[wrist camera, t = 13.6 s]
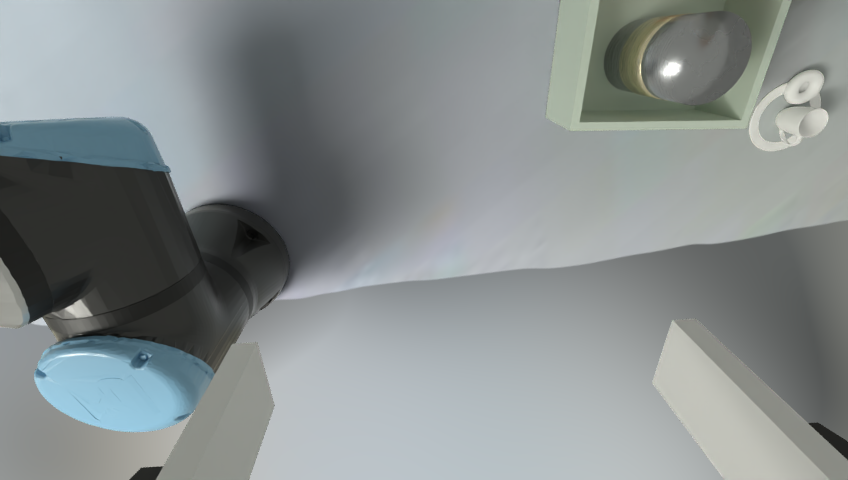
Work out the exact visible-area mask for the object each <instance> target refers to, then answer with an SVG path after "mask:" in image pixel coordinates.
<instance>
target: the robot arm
mask: <svg viewBox="0 0 848 480" xmlns="http://www.w3.org/2000/svg"><path fill="white" fill-rule="evenodd" d="M170 172H171V170H170V168H169V167H168V166H166V165H165V163H164V161H163V159H162V157H161V155H160V153H159V150H158V148H157V146H156V144H155V142H154V139H153V137H152V135H151V133H150V132H149V131H148V129H147V128H146V127H145V126H143V125H142V124H141V123H139V122H137V121H135V120H132V119H129V118H125V117H96V118H73V119H52V120H32V121H12V122H0V327H6V328H21V327H23V326H25V325H27V324H29V323H31V322H33V321H35V320H37V319H39V318H41V317H43V319H44V320H45V322H46V324H47V325H48V327H49V328H50V330H51V331H52V333H53V334H54V336H55V337H56V340H57V343H56V344H54V345H51V346H50V347H49V348H48V349H46V350H45V351H44V352H43V354H42V357H41V359H40V361H39V362H38V368H37V369H36V371H35V373H34V377H35V383H36V385H37V387H38V389H39V391H40V393H41V394H42V395H43V396H44V398H45V399H46V400H47V401H48V402H49V403H50V404H52V405H53V406H54V407H55V408H57V409H58V410H60V411H61V412H63V413H65V414H67V415H69V416H70V417H73V418H74V419H77V420H79V421H82V422H84V423H87V424H90V425H94V426H98V427H101V428H105V429H109V430H115V431H123V432H147V431H155V430H160V429H164V428H167V427H170V426H173V425H175V424H177V423H179V422H181V421H183V420H184V419H186V418H187V417H188V416H189V415H190V414H191V413H193V412H194V413H193V414H192V416H191V418H190V420H189V422H188V424H187V425H186V427H185V429H184V431H183V433H182V434H181V436H180V438H179V440H178V441H177V443H176V445H175V447H174V449H173V450H172V452H171V454H170V455H169V457H168V459H167V461H166V463H165V464H164V466H163V467H146V468H141V469H140V470H139V471H138V472H137V473H136V474H135V475H134V476H133V477H132V478H131V479H130V480H249V478H250V475H251V472H252V469H253V466H254V464H255V460H256V458H257V455H258V452H259V449H260V446H261V443H262V440H263V438H264V435H265V432H266V429H267V426H268V423H269V420H270V417H271V414H272V412H273V409H274V406H275V405H274V402H273V398H272V394H271V391H270V387H269V383H268V380H267V376H266V372H265V368H264V365H263V361H262V357H261V354H260V350H259V346H258V343H256V342H255V343H236V341H237V339H238V338H239V336H240V334H241V332H242V330H243V329H244V327H245V325H246V323H247V321H248V320H249V319H250V318H251V317H252V316H254V315H255V314H257V313H258V312H259V311H260V310H262V309H263V308H265V307H266V306H268V305H269V304H270V303H272V302H273V301H274V300H275V299H276V297H277V296H278V295H279V293H280V292H281V290H282V288H283V286H284V284H285V282H286V280H287V277H288V273H289V256H288V252H287V249H286V247H285V244H284V242H283V241H282V239H281V237H280V236H279V234H278V233H277V232H276V231H275V230H274V229H273V228H272V227H271V226H270V225H269V224H268V223H267V222H266V221H264V220H263V219H262V218H260V217H259V216H257V215H255V214H254V213H252V212H250V211H247V210H245V209H242V208H239V207H235V206H231V205H223V204H212V205H205V206H201V207H197V208H195V209H192V210H190V211H189V212H187V213H185V212H184V210H183V207H182V205H181V202H180V200H179V197H178V195H177V192H176V190H175V187H174V185H173V182H172V180H171V177H170V175H169V173H170ZM235 343H236V344H235ZM652 383H653V385H654V386H655V387H656V388H657V390H658V391H659V393H660V394H661V395H662V397H663V398H664V399H665V401H666V402H667V403H668V405H669V406H670V407H671V409H672V410H673V412H674V413H675V414H676V416H677V417H678V418H679V420H680V421H681V422H682V424H683V425H684V426H685V428H686V429H687V430H688V432H689V433H690V434H691V436H692V437H693V438H694V440H695V441H696V443H697V444H698V445H699V446H700V448H701V449H702V450H703V452H704V453H705V455H706V456H707V457H708V459H709V460H710V461H711V463H712V464H713V465H714V467H715V468H716V469H717V471H718V472H719V473H720V475H721V476H722V477H723V479H724V480H848V442H847V441H846V440H845V439H843V438H841V437H840V436H838V435H836V434H835V433H833V432H832V431H830V430H829V429H827V428H826V427H824V426H822V425H821V424H819V423H807V422H806V421H805V420H804V419H803V418H802V417H801V416H800V415H798V414H797V413H796V412H795V411H794V410H793V409H792V408H791V407H790V406H789V405H788V404H787V403H786V402H784V401H783V400H782V399H781V398H780V397H779V396H778V395H777V394H776V393H775V392H774V391H773V390H772V389H771V388H769V387H768V386H767V385H766V384H765V383H764V382H763V381H762V380H761V379H760V378H759V377H758V376H757V375H756V374H755V373H753V372H752V371H751V370H750V369H749V368H748V367H747V366H746V365H745V364H744V363H743V362H742V361H741V360H739V359H738V358H737V357H736V356H735V355H734V354H733V353H732V352H731V351H730V350H729V349H728V348H727V347H726V346H724V345H723V344H722V343H721V342H720V341H719V340H718V339H717V338H716V337H715V336H714V335H713V334H711V333H710V332H709V331H708V330H707V329H706V328H705V327H704V326H703V325H702V324H701V323H700V322H699V321H697V320H696V319H682V320H672V323H671V326H670V329H669V332H668V335H667V339H666V341H665V345H664V348H663V351H662V354H661V357H660V360H659V363H658V366H657V369H656V373H655V376H654V379H653V382H652ZM194 410H195V411H194Z"/></svg>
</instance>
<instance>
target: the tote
mask: <svg viewBox="0 0 848 480" xmlns="http://www.w3.org/2000/svg"><path fill="white" fill-rule="evenodd" d="M791 1H792V0H560V6H559V14H558V22H557V30H556V38H555V45H554V53H553V61H552V69H551V77H550V85H549V93H548V100H547V108H546V116H545V118H547V119H549V120H550V121H552V122H554V123H556V124H558V125H560V126H562V127H563V128H565V129H567V130H569V131H607V130H678V129H747V126H748V123H749V120H750V117H751V115H752V112H753V109H754V106H755V103H756V100H757V98H758V95H759V92H760V89H761V86H762V83H763V81H764V78H765V75H766V72H767V69H768V66H769V64H770V61H771V58H772V55H773V52H774V49H775V47H776V44H777V41H778V38H779V35H780V32H781V30H782V27H783V24H784V21H785V18H786V15H787V13H788V10H789V7H790V4H791ZM713 11H728V12H732V13H735V14H737V15H738V16H740V17H741V18H742V19H743V20H744V21H745V22H746V24H747V25H748V27H749V30H750V33H751V38H752V49H751V55H750V58H749V61H748V64H747V66H746V68H745V70H744V72H743V74H742V76H741V77H740V79H739V80H738V81H737V82H736V84H735V85H734V86H733V87H732V88H731V89H730V90H729V91H728V92H726V93H725V94H724V95H722V96H721V97H719V98H718V99H716V100H714V101H712V102H709V103H706V104H702V105H686V104H682V103H677V102H672V101H666V100H661V99H656V98H651V97H647V96H642V95H638V94H635V93H631V92H627V91H622V90H619V89H617V88H615V87H614V86H613V85H612V84H611V83H610V82H609V81H608V79H607V77H606V75H605V71H604V56H605V52H606V49H607V46H608V44H609V42H610V41H611V39H612V38H613V36H614V35H615V34H616V33H617V32H618V31H619V30H620V29H621V28H622V27H623V26H625V25H626V24H628V23H630V22H632V21H635V20H638V19H646V18H655V17H660V16H669V15H678V14H688V13H703V12H713Z"/></svg>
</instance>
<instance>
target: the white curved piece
mask: <svg viewBox="0 0 848 480" xmlns="http://www.w3.org/2000/svg"><path fill="white" fill-rule="evenodd" d="M823 84H824V75H823V74H822V73H821V72H820V71H818V70H807V71H803V72H801V73H799V74H797V75H796V76H795V77H793V78H792V79H791V80H790V81H789V82H788V83H785V84H783V85H781V86H779V87H777V88H775V89H774V90H772V91H771V92H770V93H769V94H767V95H766V96H765V97H764V98H763V99H762V100H761V102H760V103H759V104H758V106H757V107H756V109H755V111H754V112H753V115H752V117H751V120H750V124H749V135H750V139H751V141H752V142H753V144H754V145H755V146H756V147H757V148H759V149H761V150H764V151H778V150H782V149H785V148H787V147H789V146H796V145H798V144H799V143H800V142H801V140H802V138H803V137H804V138H810V137H813V136H815V135H817V134H819V133H820V132H821V131H822V130H823V129H824V128H825V126H826V124H827V122H828V118H829V116H828V113H827V111H826V110H824V109H821V97H820V93H819V91H820V90H821V89H822V87H823ZM799 92H801V93H799ZM782 94H784V97H785V100H786V101H787V102H788V103H791V104H802V103H805V102H807V101H809V102H810V107H789V108H786V109H783V110H782V111H780V112H779V113H778V115H777V116H776V119H775V123H776V125H777V126H778V127H779V135H780V137H781V139H782V141H780V142H768V141H766V140H764V139H763V138H762V137H761V135H760V133H759V129H758V124H759V120H760V117H761V115H762V113H763V111H764V109H765V108H766V107H767V105H768V104H769V103H770V102H771V101H773V100H774V99H775V98H777V97H778V96H780V95H782ZM784 131H786V132H788V133H791V134H794V135H793V136H791V137H790V138H788V139H786V137H785V134H784Z"/></svg>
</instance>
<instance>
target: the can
mask: <svg viewBox="0 0 848 480" xmlns="http://www.w3.org/2000/svg"><path fill="white" fill-rule="evenodd" d="M751 49H752V38H751V33H750V30H749V27H748V25H747V24H746V22H745V21H744V20H743V19H742V18H741V17H740V16H738V15H737V14H735V13H732V12H728V11H713V12H703V13H688V14H678V15H669V16H660V17H655V18H646V19H638V20H635V21H632V22H630V23H628V24H626V25H625V26H623V27H622V28H621V29H620V30H619V31H618V32H617V33H616V34H615V35H614V36H613V38H612V39H611V41H610V42H609V44H608V46H607V49H606V52H605V56H604V71H605V75H606V77H607V79H608V81H609V82H610V83H611V84H612V85H613V86H614V87H615V88H617V89H619V90H622V91H627V92H631V93H635V94H638V95H642V96H647V97H651V98H656V99H661V100H666V101H672V102H677V103H682V104H686V105H702V104H706V103H709V102H712V101H714V100H716V99H718V98H719V97H721V96H722V95H724V94H725V93H726V92H728V91H729V90H730V89H731V88H732V87H733V86H734V85H735V84H736V82H737V81H738V80H739V79H740V77H741V76H742V74H743V72H744V70H745V68H746V66H747V64H748V61H749V58H750V55H751Z"/></svg>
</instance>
